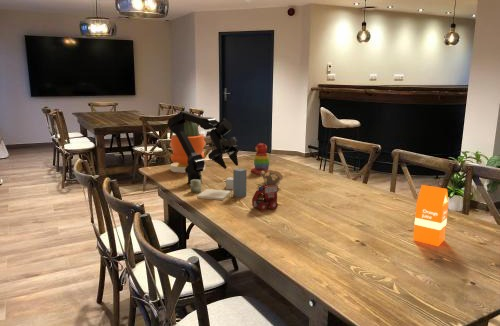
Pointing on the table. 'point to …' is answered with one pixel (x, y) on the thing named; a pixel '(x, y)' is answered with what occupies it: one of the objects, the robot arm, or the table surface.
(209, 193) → the plate
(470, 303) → the table surface
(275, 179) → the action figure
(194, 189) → the sage cylinder
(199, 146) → the potted cactus
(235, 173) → the tall block
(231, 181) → the white cube
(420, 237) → the orange juice
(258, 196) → the toy fire truck
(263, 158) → the stacking bear
